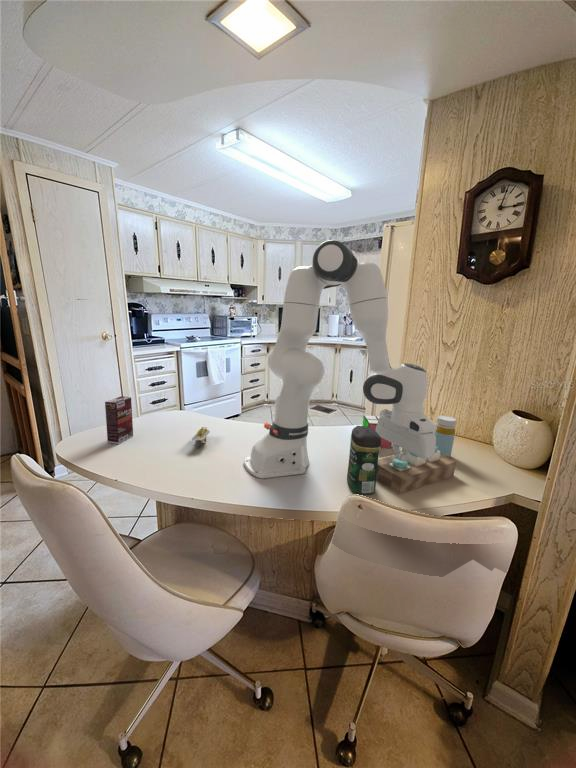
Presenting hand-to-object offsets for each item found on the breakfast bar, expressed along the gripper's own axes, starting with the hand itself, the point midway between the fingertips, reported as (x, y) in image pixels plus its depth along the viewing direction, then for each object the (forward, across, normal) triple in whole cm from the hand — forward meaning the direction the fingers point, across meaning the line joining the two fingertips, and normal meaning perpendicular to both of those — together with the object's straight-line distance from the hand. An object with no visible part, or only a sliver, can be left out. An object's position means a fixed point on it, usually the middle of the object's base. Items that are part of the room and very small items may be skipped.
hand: (399, 459), depth 98 cm
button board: (+7, 0, +8) cm, 11 cm away
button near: (+7, 0, +1) cm, 7 cm away
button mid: (+4, 0, +8) cm, 9 cm away
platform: (+9, -48, -50) cm, 70 cm away
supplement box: (+9, -64, -77) cm, 101 cm away
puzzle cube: (+7, -25, +15) cm, 31 cm away
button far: (+4, 0, +15) cm, 15 cm away
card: (+7, -10, +11) cm, 16 cm away
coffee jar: (+8, -2, -13) cm, 15 cm away
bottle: (+7, -7, +31) cm, 32 cm away
